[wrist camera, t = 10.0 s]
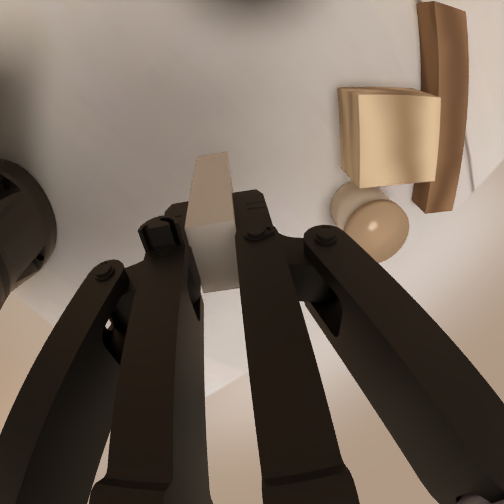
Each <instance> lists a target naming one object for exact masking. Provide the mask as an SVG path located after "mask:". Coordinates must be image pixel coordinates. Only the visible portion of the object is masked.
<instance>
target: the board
mask: <svg viewBox="0 0 504 504" xmlns="http://www.w3.org/2000/svg"><path fill="white" fill-rule="evenodd" d="M417 11H418V21H419V33H420V50H421V91H422V92H425V93H429V94H432V95H435V96H438V97H441V111H440V132H439V146H438V157H437V166H436V175H435V181H430V182H419V183H414V189H413V196H412V201H413V202H414V203H415V204H416V205H417V206H418V207H419V208H420V209H421V210H422V211H423V212H424V213H425V214H426V213H435V212H444V211H452V209H453V204H454V200H455V195H456V190H457V185H458V179H459V174H460V168H461V161H462V155H463V147H464V139H465V130H466V120H467V106H468V84H469V56H468V34H467V22H466V12H465V11H462V10H459V9H457V8H454V7H451V6H448V5H445V4H442V3H438V2H435V1H432V2H423V3H417Z"/></svg>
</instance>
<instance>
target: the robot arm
mask: <svg viewBox="0 0 504 504" xmlns="http://www.w3.org/2000/svg"><path fill="white" fill-rule="evenodd" d="M138 233H139V236H140V238H141V241H142V244H143V246H144V249H145V252H146V253H145V257H144V260H143V261H141V262H139V263H137V264H135V265H132V266H130V267H127V268H124V265H123V263H122V262H120V261H119V260H107V261H104V262H102V263H100V264H99V265H97V266H96V267H94V268H93V269H92V270H91V272H90V273H89V274H88V276H87V277H86V279H85V280H84V281H83V283H82V284H81V286H80V287H79V289H78V290H77V292H76V293H75V295H74V296H73V298H72V300H71V301H70V303H69V304H68V306H67V307H66V309H65V311H64V312H63V314H62V315H61V317H60V319H59V320H58V322H57V323H56V325H55V327H54V328H53V330H52V332H51V334H50V335H49V337H48V339H47V340H46V342H45V344H44V346H43V347H42V350H41V351H40V353H39V355H38V356H37V358H36V360H35V362H34V364H33V366H32V368H31V370H30V371H29V374H28V375H27V377H26V379H25V381H24V383H23V385H22V388H21V389H20V391H19V394H18V396H17V398H16V400H15V402H14V404H13V406H12V409H11V411H10V413H9V415H8V418H7V420H6V422H5V425H4V427H3V429H2V432H1V434H0V504H87V502H88V498H89V495H90V500H89V504H213V502H212V500H211V496H210V491H209V476H208V461H207V442H206V422H205V421H206V420H205V390H204V303H203V300H202V296H201V293H200V290H201V286H202V289H203V293H208V292H215V291H222V290H229V289H235V288H240V296H241V305H242V314H243V323H244V332H245V341H246V350H247V359H248V368H249V376H250V385H251V393H252V401H253V410H254V418H255V426H256V434H257V442H258V449H259V457H260V465H261V473H262V498H263V504H360V503H359V499H358V495H357V491H356V487H355V484H354V480H353V478H352V475H351V473H350V471H349V470H348V468H347V467H346V466H345V464H344V462H343V460H342V458H341V454H340V450H339V446H338V442H337V439H336V435H335V430H334V426H333V423H332V419H331V415H330V411H329V407H328V404H327V400H326V396H325V392H324V388H323V385H322V381H321V377H320V373H319V370H318V367H317V363H316V359H315V355H314V352H313V348H312V345H311V341H310V338H309V334H308V331H307V327H306V324H305V320H304V317H303V313H302V310H301V306H300V303H299V301H304V303H305V306H306V307H307V309H308V310H309V312H310V313H311V315H312V316H313V318H314V319H315V321H316V322H317V324H318V325H319V327H320V328H321V329H322V331H323V333H324V334H325V335H326V337H327V338H328V340H329V341H330V343H331V344H332V346H333V347H334V349H335V350H336V352H337V353H338V355H339V356H340V358H341V359H342V361H343V362H344V364H345V365H346V367H347V368H348V370H349V371H350V373H351V374H352V376H353V377H354V379H355V380H356V382H357V383H358V385H359V386H360V388H361V389H362V391H363V393H364V394H365V395H366V397H367V399H368V400H369V402H370V403H371V405H372V406H373V408H374V409H375V411H376V412H377V414H378V415H379V417H380V418H381V420H382V422H383V423H384V425H385V426H386V428H387V429H388V431H389V432H390V434H391V435H392V437H393V438H394V440H395V442H396V443H397V445H398V446H399V448H400V449H401V451H402V452H403V454H404V456H405V457H406V459H407V460H408V462H409V463H410V465H411V466H412V468H413V470H414V471H415V473H416V474H417V476H418V477H419V479H420V481H421V482H422V483H423V485H424V486H425V487H426V489H427V490H428V492H429V493H430V494H431V496H432V497H433V498H434V499H435V500H436V501H437V502H438V503H439V504H504V403H503V402H502V401H501V399H500V398H499V397H498V395H497V394H496V393H495V392H494V390H493V389H492V388H491V386H490V385H489V384H488V383H487V382H486V380H485V379H484V378H483V376H482V375H480V373H479V372H478V370H477V369H476V368H475V367H474V366H473V364H472V363H471V362H470V361H469V360H468V358H467V357H466V356H465V355H464V354H463V352H461V350H460V349H459V348H458V347H457V346H456V344H455V343H454V342H453V341H452V340H451V339H450V338H449V336H448V335H447V334H446V333H445V332H444V331H443V330H442V329H441V328H440V326H439V325H438V324H437V323H436V322H435V321H434V320H433V319H432V318H431V317H430V316H429V315H428V313H426V311H425V310H424V309H423V308H422V307H421V306H420V305H419V304H418V303H417V302H416V301H415V300H414V299H413V298H412V297H411V296H410V295H409V294H408V293H407V292H406V290H405V289H403V288H402V286H401V285H400V284H399V283H397V281H396V280H395V279H394V278H393V277H391V275H389V273H388V272H387V271H386V270H385V269H384V268H383V267H382V266H380V265H379V264H378V263H377V262H376V261H375V260H374V259H373V258H372V257H371V256H370V255H369V254H368V253H367V252H366V251H365V250H364V249H363V248H362V247H361V246H360V245H359V244H357V243H356V242H355V241H354V240H353V239H352V238H351V237H350V236H349V235H348V234H347V233H346V232H344V231H343V230H341V229H340V228H338V227H335V226H331V225H319V226H314V227H312V228H310V229H308V230H307V231H306V232H305V233H304V238H293V237H287V236H284V235H281V234H279V233H278V231H277V229H276V228H275V227H274V226H273V225H272V221H271V218H270V215H269V212H268V208H267V205H266V202H265V199H264V196H263V194H262V193H261V192H259V191H258V190H256V189H255V190H249V191H242V192H236V193H233V187H232V180H231V174H230V168H229V162H228V156H227V152H222V153H216V154H210V155H205V156H199V157H197V158H196V163H195V168H194V174H193V179H192V185H191V191H190V197H189V201H188V202H182V203H177V204H172V205H171V206H170V207H169V208H168V209H167V210H166V211H165V214H164V216H159V217H155V218H152V219H150V220H148V221H146V222H145V223H144V224H143V225H141V226H140V228H139V229H138ZM55 242H56V224H55V219H54V215H53V212H52V209H51V206H50V204H49V201H48V199H47V197H46V195H45V194H44V192H43V190H42V189H41V187H40V186H39V184H38V183H37V182H36V181H35V180H34V178H33V177H32V176H31V175H30V174H29V173H28V172H26V171H25V170H24V169H23V168H21V167H20V166H18V165H16V164H14V163H12V162H9V161H5V160H0V309H1V308H2V305H3V304H4V302H5V300H6V299H7V297H8V295H9V294H10V292H11V291H13V290H14V289H15V288H17V287H18V286H19V285H21V284H22V283H23V282H25V281H26V280H28V279H29V278H30V277H32V276H33V275H35V274H36V273H37V272H39V271H40V270H41V268H42V267H43V266H44V265H45V263H46V262H47V260H48V258H49V257H50V255H51V254H52V252H53V250H54V247H55ZM108 319H109V320H110V321H111V325H110V327H109V328H108V329H106V327H105V325H106V323H107V321H108ZM110 430H111V434H110V444H109V455H108V468H107V473H106V475H105V477H104V478H103V479H101V480H100V481H98V482H97V483H95V485H94V486H93V488H92V485H93V482H94V479H95V475H96V472H97V469H98V466H99V463H100V459H101V456H102V454H103V451H104V447H105V445H106V442H107V439H108V436H109V433H110ZM91 488H92V490H91ZM90 492H91V494H90Z"/></svg>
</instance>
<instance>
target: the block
mask: <svg viewBox="0 0 504 504" xmlns="http://www.w3.org/2000/svg"><path fill="white" fill-rule="evenodd" d="M338 101H339V117H340V137H341V168H342V169H343V170H344V171H345V173H346V174H347V175H348V176H349V177H350V178H351V179H352V180H353V182H354V183H355V184H356V185H357V186H358V187H359V189H361V188H369V187H379V186H388V185H398V184H408V183H419V182H430V181H435V175H436V166H437V157H438V146H439V132H440V111H441V97H438V96H435V95H432V94H429V93H425V92H422V91H419V90H416V89H412V88H391V87H341V88H338Z"/></svg>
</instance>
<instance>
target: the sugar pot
mask: <svg viewBox="0 0 504 504" xmlns="http://www.w3.org/2000/svg"><path fill="white" fill-rule="evenodd" d="M330 213H331V217H332V219H333V221H334V222H335V224H336V226H337V227H338V228H340V229H341V230H343V231H344V232H346V233H347V234H348V235H349V236H350V237H351V238H352V239H353V240H354V241H355V242H356V243H357V244H359V245H360V246H361V247H362V248H363V249H364V250H365V251H366V252H367V253H368V254H369V255H370V256H371V257H372V258H373V259H374V260H375V261H376V262H377V263H380V262H383V261H385V260H387V259H389V258H390V257H392V256H393V255H394V254H395V253H396V252H397V251H398V250H399V249H400V248H401V247H402V245H403V244H404V242H405V240H406V238H407V236H408V232H409V220H408V217H407V215H406V213H405V212H404V211H403V210H402V208H401V207H400V206H399V205H398V204H396V203H395V202H393V201H390V200H389V199H388V198H387V197H386V196H385V195H384V194H383V193H382V191H381V190H380V189H379V188H378V187H369V188H361V189H359V187H358V186H357V185H356V184H355V183H354V182H353V181H350V182H348V183H346V184H344V185H343V186H341V187H340V188H339V189H338V190H337V192H336V193H335V194H334V196H333V198H332V201H331V205H330Z"/></svg>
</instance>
